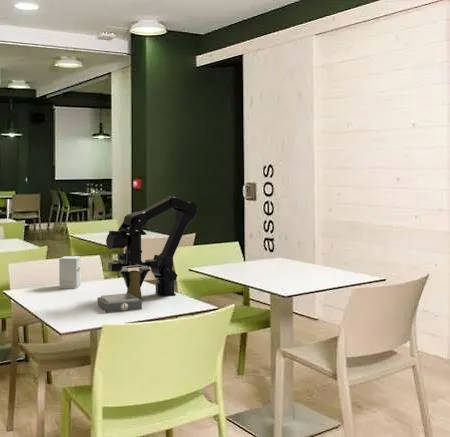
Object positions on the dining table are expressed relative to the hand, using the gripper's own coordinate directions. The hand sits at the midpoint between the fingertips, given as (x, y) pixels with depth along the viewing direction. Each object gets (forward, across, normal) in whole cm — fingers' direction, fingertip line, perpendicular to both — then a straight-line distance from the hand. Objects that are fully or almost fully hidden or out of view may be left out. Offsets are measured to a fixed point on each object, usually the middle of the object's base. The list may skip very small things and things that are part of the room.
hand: (133, 287), depth 237 cm
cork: (+5, 0, 0) cm, 5 cm away
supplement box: (+5, +17, -34) cm, 38 cm away
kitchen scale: (+4, +9, +11) cm, 15 cm away
